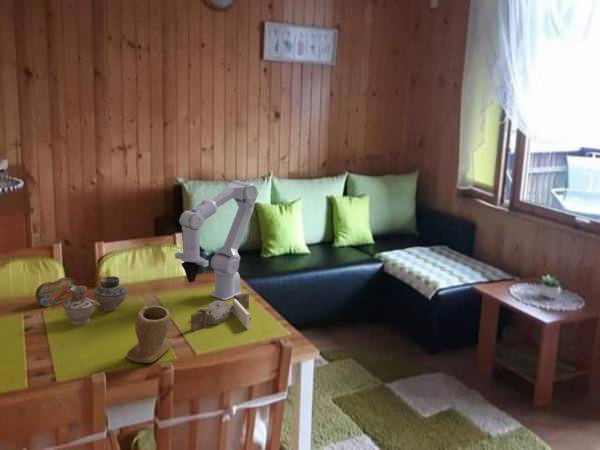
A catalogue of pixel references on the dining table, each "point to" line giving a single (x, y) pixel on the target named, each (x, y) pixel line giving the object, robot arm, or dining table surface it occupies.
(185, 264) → the robot arm
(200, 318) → the wooden plank
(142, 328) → the stone cup
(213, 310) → the stone
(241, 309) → the door
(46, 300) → the tin
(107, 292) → the pottery
